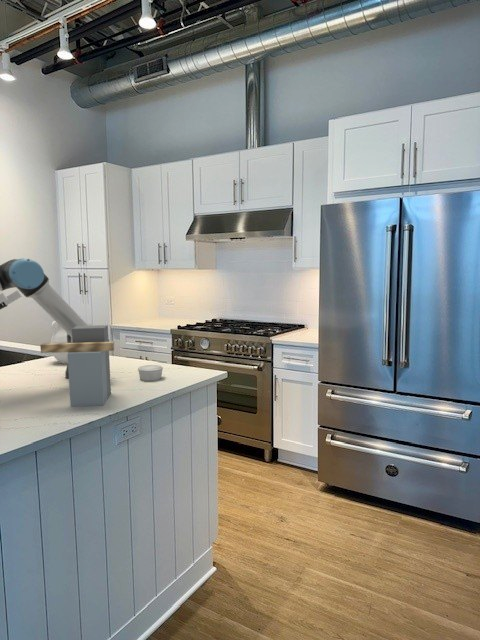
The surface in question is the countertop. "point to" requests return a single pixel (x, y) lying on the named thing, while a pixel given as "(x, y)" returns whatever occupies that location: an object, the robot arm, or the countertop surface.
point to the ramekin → (150, 372)
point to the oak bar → (77, 347)
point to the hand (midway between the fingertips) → (12, 294)
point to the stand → (89, 368)
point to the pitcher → (59, 337)
